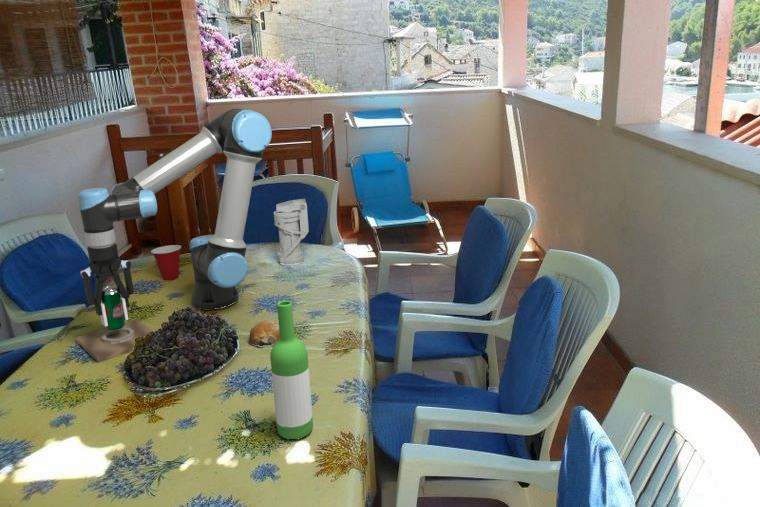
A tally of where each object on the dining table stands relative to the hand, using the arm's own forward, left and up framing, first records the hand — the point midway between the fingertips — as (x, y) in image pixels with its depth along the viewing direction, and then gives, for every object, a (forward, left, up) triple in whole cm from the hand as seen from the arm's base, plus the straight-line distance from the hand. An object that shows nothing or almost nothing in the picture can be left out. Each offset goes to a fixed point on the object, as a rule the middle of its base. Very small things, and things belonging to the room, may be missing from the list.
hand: (115, 321), depth 173 cm
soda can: (0, 0, -2) cm, 2 cm away
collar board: (0, 0, -6) cm, 6 cm away
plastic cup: (-35, -42, -7) cm, 55 cm away
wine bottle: (-10, +74, -7) cm, 75 cm away
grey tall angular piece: (-78, -22, -7) cm, 81 cm away
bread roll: (-31, +31, -7) cm, 44 cm away
